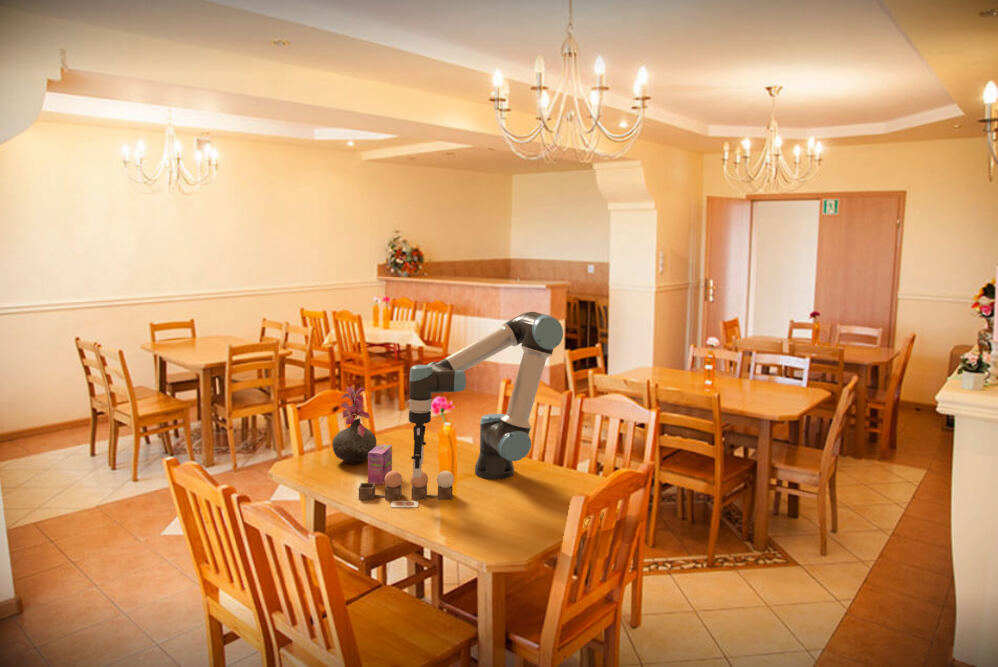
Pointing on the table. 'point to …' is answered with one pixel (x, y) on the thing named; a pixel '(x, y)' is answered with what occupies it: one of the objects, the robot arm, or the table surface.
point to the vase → (354, 432)
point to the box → (379, 463)
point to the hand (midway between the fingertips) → (418, 470)
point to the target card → (404, 504)
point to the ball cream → (445, 479)
